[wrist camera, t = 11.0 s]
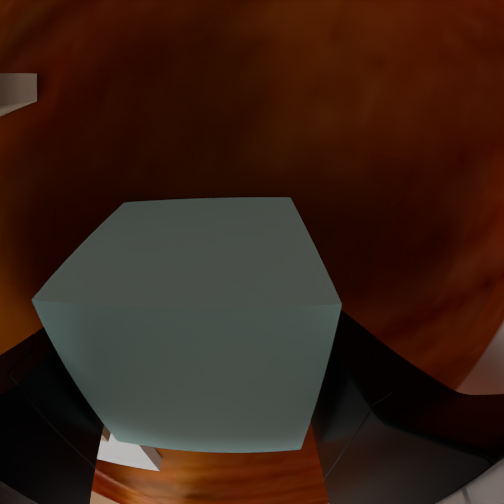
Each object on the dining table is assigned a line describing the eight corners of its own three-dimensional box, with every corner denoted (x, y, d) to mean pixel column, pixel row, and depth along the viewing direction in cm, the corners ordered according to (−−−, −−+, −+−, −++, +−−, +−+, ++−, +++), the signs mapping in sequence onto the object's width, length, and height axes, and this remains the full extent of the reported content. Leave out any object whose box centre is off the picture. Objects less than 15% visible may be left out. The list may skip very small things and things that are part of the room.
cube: (290, 197, 8) (341, 303, 4) (281, 328, 11) (300, 449, 6) (124, 202, 8) (31, 299, 4) (151, 327, 11) (117, 441, 6)
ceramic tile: (127, 405, 13) (122, 422, 12) (161, 458, 17) (159, 471, 16) (8, 376, 13) (1, 388, 12) (56, 434, 17) (53, 445, 16)
